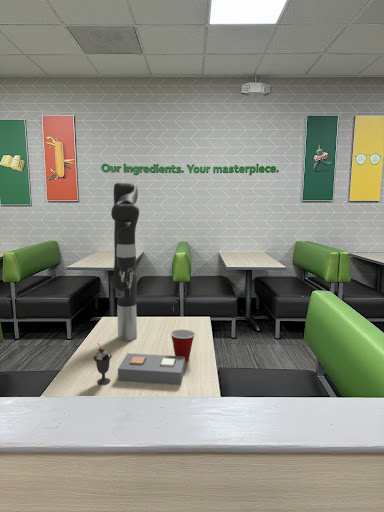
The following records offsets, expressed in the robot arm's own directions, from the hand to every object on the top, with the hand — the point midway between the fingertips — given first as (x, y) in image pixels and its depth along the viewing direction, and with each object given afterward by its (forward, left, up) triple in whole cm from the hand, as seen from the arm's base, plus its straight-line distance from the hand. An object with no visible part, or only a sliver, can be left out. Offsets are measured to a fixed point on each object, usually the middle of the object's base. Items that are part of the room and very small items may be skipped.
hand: (127, 297), depth 137 cm
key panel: (+8, +12, -29) cm, 32 cm away
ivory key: (+8, +18, -27) cm, 33 cm away
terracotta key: (+8, +6, -27) cm, 29 cm away
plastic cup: (-7, +22, -29) cm, 37 cm away
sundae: (+15, -5, -29) cm, 33 cm away
